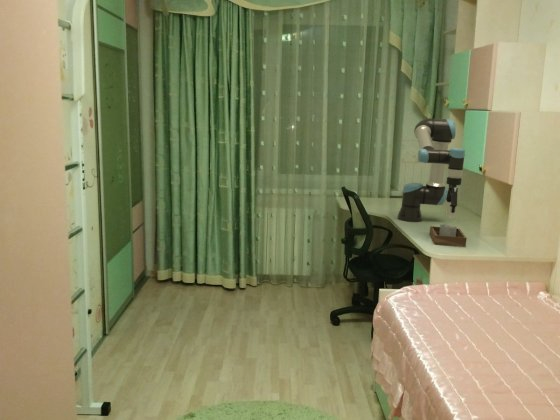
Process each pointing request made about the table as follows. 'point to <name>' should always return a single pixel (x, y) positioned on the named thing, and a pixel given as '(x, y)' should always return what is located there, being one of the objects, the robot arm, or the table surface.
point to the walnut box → (447, 238)
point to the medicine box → (447, 230)
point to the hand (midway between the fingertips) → (449, 216)
